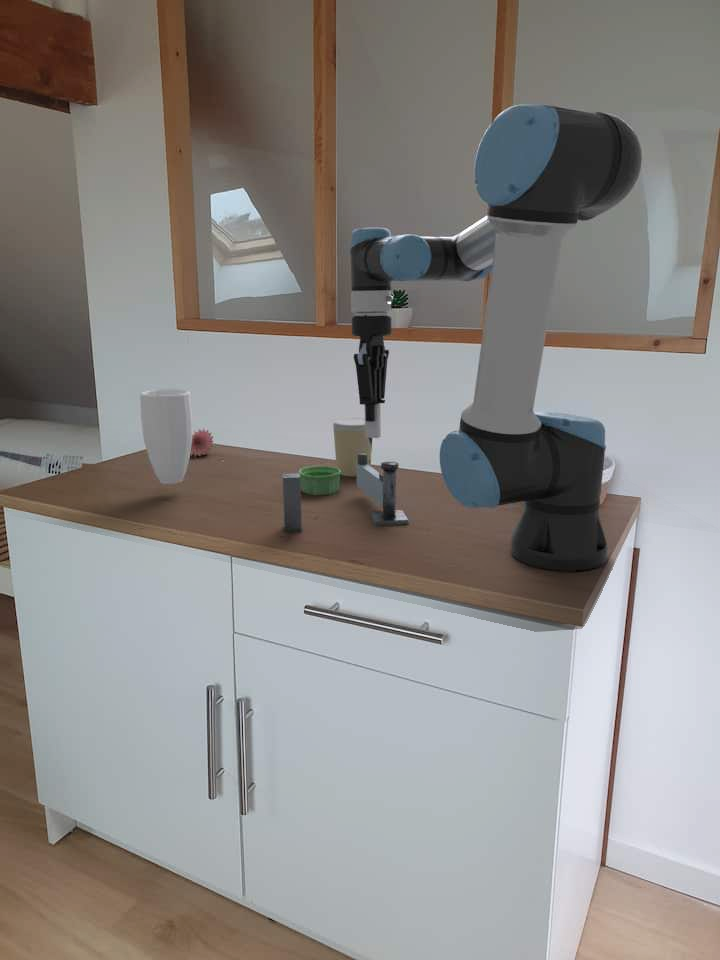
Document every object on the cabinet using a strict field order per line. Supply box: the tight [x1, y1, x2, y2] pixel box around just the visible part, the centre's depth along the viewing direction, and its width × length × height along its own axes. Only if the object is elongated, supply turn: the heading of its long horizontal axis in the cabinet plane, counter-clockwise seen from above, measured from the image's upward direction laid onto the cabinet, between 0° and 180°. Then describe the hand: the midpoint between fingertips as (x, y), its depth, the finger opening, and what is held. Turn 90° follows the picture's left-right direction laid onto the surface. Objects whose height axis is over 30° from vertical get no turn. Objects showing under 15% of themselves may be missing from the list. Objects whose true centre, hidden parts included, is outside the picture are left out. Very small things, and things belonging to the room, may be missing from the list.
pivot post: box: [370, 461, 409, 526], centre depth 137 cm, size 6×6×11 cm
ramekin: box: [298, 465, 341, 496], centre depth 158 cm, size 9×9×4 cm
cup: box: [139, 388, 193, 485], centre depth 152 cm, size 10×10×22 cm
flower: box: [190, 428, 214, 458], centre depth 190 cm, size 8×8×6 cm
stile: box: [282, 472, 302, 533], centre depth 133 cm, size 3×3×10 cm
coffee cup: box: [332, 417, 373, 477], centre depth 171 cm, size 9×9×12 cm
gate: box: [356, 453, 383, 508], centre depth 146 cm, size 16×2×7 cm, turn 18°
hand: (372, 436), depth 146 cm, fingers closed
